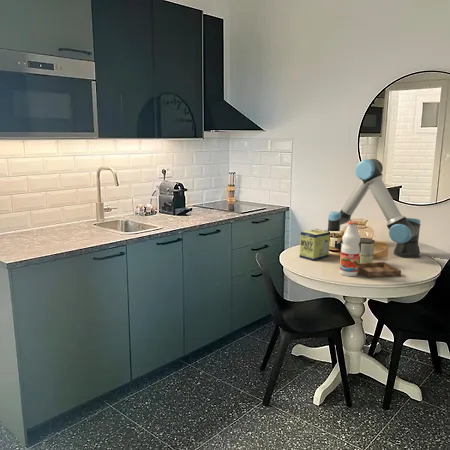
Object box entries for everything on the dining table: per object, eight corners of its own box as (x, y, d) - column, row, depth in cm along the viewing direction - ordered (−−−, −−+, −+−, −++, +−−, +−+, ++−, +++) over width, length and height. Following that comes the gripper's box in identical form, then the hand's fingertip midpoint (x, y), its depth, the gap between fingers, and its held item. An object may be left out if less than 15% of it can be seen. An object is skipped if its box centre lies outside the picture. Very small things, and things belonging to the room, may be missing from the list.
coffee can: (350, 263, 257) (352, 239, 254) (358, 260, 264) (360, 236, 262) (368, 267, 250) (370, 242, 247) (375, 263, 258) (377, 239, 255)
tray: (383, 267, 251) (384, 261, 251) (400, 276, 236) (401, 270, 236) (352, 268, 247) (352, 263, 247) (367, 278, 232) (368, 272, 231)
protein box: (298, 257, 268) (300, 231, 265) (314, 253, 278) (316, 228, 275) (313, 261, 261) (314, 235, 257) (329, 256, 271) (330, 231, 268)
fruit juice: (357, 272, 242) (361, 220, 236) (357, 277, 233) (362, 224, 227) (339, 270, 244) (343, 219, 238) (339, 275, 235) (342, 222, 229)
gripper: (357, 244, 286) (376, 253, 266) (321, 246, 281) (336, 255, 260) (358, 233, 285) (377, 241, 264) (322, 234, 279) (337, 242, 259)
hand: (357, 248), depth 262 cm, fingers open, 13 cm apart
